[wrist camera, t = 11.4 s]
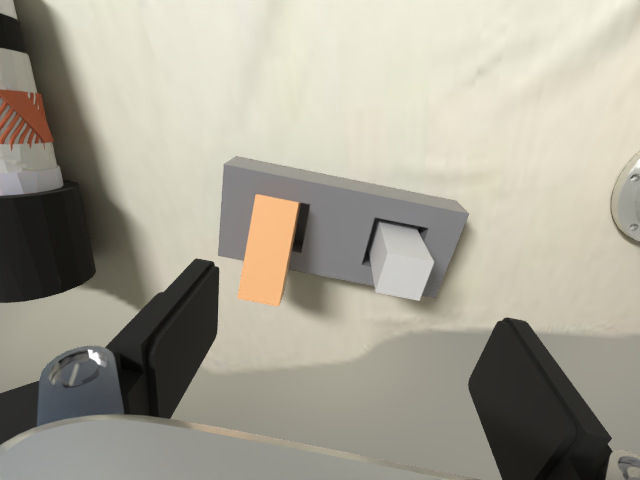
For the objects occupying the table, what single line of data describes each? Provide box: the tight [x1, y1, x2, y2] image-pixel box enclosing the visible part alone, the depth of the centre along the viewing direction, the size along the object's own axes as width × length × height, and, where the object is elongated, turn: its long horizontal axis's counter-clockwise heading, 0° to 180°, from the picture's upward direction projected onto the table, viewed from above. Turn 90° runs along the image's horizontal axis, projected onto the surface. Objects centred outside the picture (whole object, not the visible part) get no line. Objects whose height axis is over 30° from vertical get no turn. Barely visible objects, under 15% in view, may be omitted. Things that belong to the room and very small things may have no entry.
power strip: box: [218, 156, 469, 301], centre depth 33 cm, size 24×10×10 cm, turn 79°
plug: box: [238, 194, 301, 306], centre depth 33 cm, size 4×4×10 cm
